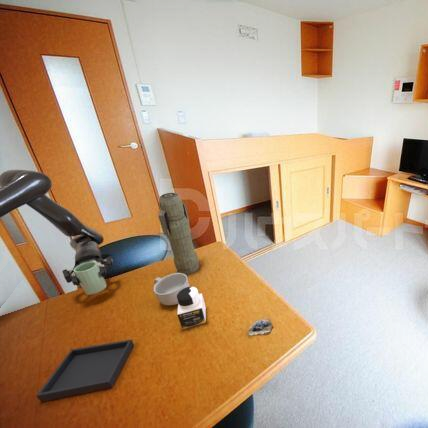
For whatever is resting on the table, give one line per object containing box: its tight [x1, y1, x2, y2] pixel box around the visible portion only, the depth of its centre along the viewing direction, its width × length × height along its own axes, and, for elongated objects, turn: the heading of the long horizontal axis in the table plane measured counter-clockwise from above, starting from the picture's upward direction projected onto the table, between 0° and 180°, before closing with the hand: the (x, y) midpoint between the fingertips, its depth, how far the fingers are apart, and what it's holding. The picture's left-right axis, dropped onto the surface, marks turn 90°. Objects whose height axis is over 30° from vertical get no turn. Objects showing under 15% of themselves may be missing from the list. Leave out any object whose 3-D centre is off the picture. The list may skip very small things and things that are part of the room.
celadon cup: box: [73, 261, 108, 296], centre depth 85 cm, size 6×6×10 cm
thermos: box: [157, 192, 200, 276], centre depth 98 cm, size 9×12×35 cm
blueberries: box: [247, 318, 274, 336], centre depth 78 cm, size 7×8×2 cm
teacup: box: [153, 272, 191, 306], centre depth 88 cm, size 14×11×8 cm
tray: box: [35, 339, 135, 402], centre depth 65 cm, size 15×12×3 cm
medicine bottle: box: [176, 286, 207, 330], centre depth 79 cm, size 7×7×12 cm
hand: (90, 279), depth 83 cm, fingers closed on celadon cup, 6 cm apart
